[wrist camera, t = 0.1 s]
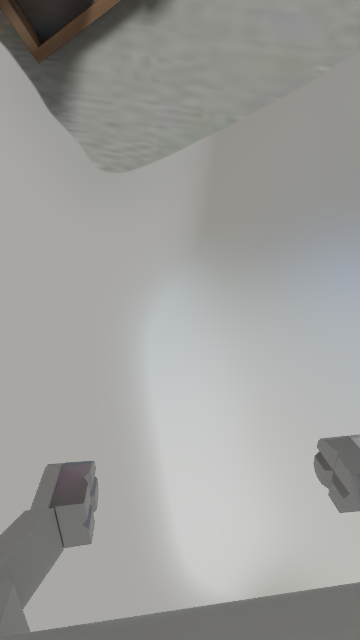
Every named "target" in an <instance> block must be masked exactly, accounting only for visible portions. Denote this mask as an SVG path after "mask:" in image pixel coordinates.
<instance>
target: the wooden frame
mask: <svg viewBox="0 0 360 640" xmlns="http://www.w3.org/2000/svg"><path fill="white" fill-rule="evenodd" d="M120 1H121V0H97V1H96V2H94V3H93V4H92V5H90V6H89V7H88V8H87V9H85V10H84V11H83V12H82V13H80V14H79V15H78V16H77V17H75V18H74V19H73V20H71V21H70V22H69V23H68V24H66V25H65V26H64V27H63V28H61V29H60V30H59V31H58V32H56V33H55V34H54V35H52V36H51V37H50V38H49V39H47V40H46V41H45V42H44V43H42V42H41V40H40V38H39V37H38V35H37V34H36V32H35V31H34V29H33V27H32V26H31V24H30V23H29V21H28V20H27V18H26V17H25V15H24V13H23V12H22V10H21V9H20V7H19V6H18V4H17V2H16V1H15V0H0V7H1V9H2V10H3V12H4V13H5V15H6V16H7V18H8V19H9V21H10V22H11V24H12V25H13V27H14V28H15V30H16V31H17V33H18V34H19V36H20V37H21V39H22V40H23V42H24V43H25V44H26V46H27V47H28V49H29V50H30V52H31V53H32V55H33V56H34V58H35V59H36V61H37V62H38V64H39V63H40V62H41V61H43V60H44V59H45V58H47V57H48V56H49V55H51V54H52V53H53V52H54V51H56V50H57V49H58V48H60V47H61V46H62V45H64V44H65V43H66V42H68V41H69V40H70V39H71V38H73V37H74V36H75V35H77V34H78V33H79V32H81V31H82V30H83V29H84V28H86V27H87V26H88V25H90V24H91V23H92V22H94V21H95V20H96V19H97V18H99V17H100V16H101V15H103V14H104V13H105V12H107V11H108V10H109V9H110V8H112V7H113V6H114V5H116V4H117V3H118V2H120Z"/></svg>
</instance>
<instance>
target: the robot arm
mask: <svg viewBox="0 0 360 640" xmlns="http://www.w3.org/2000/svg"><path fill="white" fill-rule="evenodd" d="M317 448H318V449H319V453H317V454H316V455H315V458H314V468H315V472H316V475H317V477H318V479H319V481H320V482H321V484H323V485H324V486H326V487H327V488H328V489H329V497H330V498H331V500H332V501H333V503H334V505H335V506H336V508H337V509H338V511H339V512H340V513H344V512H355V511H360V435H351V436H342V437H332V438H323V439H320V440H319V441H318V444H317ZM95 470H96V467H95V462H94V461H84V462H70V463H59V464H48V465H47V467H46V468H45V470H44V473H43V476H42V478H41V481H40V484H39V487H38V489H37V492H36V495H35V498H34V501H33V503H32V506H31V509H30V510H28V511H25V512H23V513H22V514H21V515H20V517H18V518H17V519H16V520H15V521H14V522H13V523H12V524H11V525H10V526H9V527H8V528H7V529H6V530H5V531H4V532H3V533H2V534H1V535H0V640H360V582H358V583H353V584H345V585H339V586H332V587H325V588H319V589H312V590H306V591H299V592H292V593H286V594H279V595H273V596H266V597H260V598H253V599H246V600H240V601H233V602H227V603H220V604H214V605H208V606H201V607H194V608H188V609H181V610H175V611H167V612H161V613H154V614H148V615H141V616H135V617H129V618H121V619H115V620H108V621H102V622H95V623H89V624H82V625H75V626H69V627H63V628H56V629H49V630H42V631H36V632H30V630H29V627H28V624H27V621H26V619H25V615H24V613H23V608H24V607H25V605H26V604H27V603H28V601H29V600H30V598H31V597H32V595H33V594H34V592H35V591H36V589H37V588H38V586H39V585H40V584H41V582H42V581H43V579H44V578H45V576H46V575H47V573H48V572H49V571H50V569H51V568H52V566H53V565H54V563H55V562H56V560H57V559H58V557H59V556H60V554H61V553H62V552H63V548H67V547H74V546H80V545H86V544H91V543H92V536H93V530H94V515H93V513H94V512H95V510H96V509H97V502H98V481H97V478H96V477H95Z"/></svg>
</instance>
